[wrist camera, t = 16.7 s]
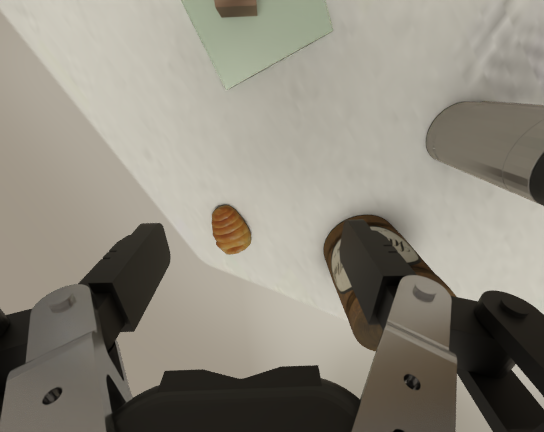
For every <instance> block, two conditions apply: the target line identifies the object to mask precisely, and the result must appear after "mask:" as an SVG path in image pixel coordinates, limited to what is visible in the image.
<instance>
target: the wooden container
mask: <svg viewBox="0 0 544 432" xmlns="http://www.w3.org/2000/svg"><path fill="white" fill-rule="evenodd" d="M358 219H363V220H365V222H366V223H367V224H368V226H369V227H370V228H371V230H376V231H378V232H379V233H381V234H383V235H384V236H386V237H387V238H388V240H389V241H390V242H391V243H392V246H394V247H395V248H396V250H397V251H398V253H400V254H401V256H402V257H403V258H404V259H405V261H406V262H407V263H408V264H409V266H410V267H411V268H412V269H413V270H414V272H415V273H416V274H417V275H418V276H422V277H426V278H429V279H431V280H433V281H435V282H437V283H438V284H440V285H441V286H442V287H444V288H445V289H446V290H447V292H448V293H449V294H450V296H453V297H456V296H455V294H454V293H453V292H452V291H451V289H450V288H449V287H448V286H447V285H446V284H445V283H444V282H443V281H442V280H441V279H440V278H439V277H438V276H437V275H436V274H435V273H434V272H433V271H432V270H431V269H430V268H429V266H428V265H427V264H426V263H425V262H424V261H423V260H422V258H421V257H420V256H419V255H418V254H417V252H416V251H415V250H414V249H413V248H412V247H411V245H410V244H409V243H408V242H407V241H406V240H405V239H404V238H403V236H402V235H401V234H400V233H398V231H397V230H396V229H395V228H394V227H393V226H392V225H391V224H390V223H389V222H388V221H386V220H385V219H383V218H381V217H378V216H374V215H361V216H355V217H352V218H349V219H347V220H358ZM344 222H345V221H343V222H341V223H340V224H339V225H337V226H336V227H335V228H334V229H333V230H332V231H331V232H330V234H329V235H328V237H327V239H326V241H325V244H324V256H325V260H326V262H327V265H328V268H329V271H330V274H331V277H332V280H333V283H334V285H335V288H336V290H337V293H338V295H339V298H340V300H341V303H342V305H343V308H344V310H345V313H346V315H347V317H348V320H349V323H350V326H351V329H352V331H353V334H354V336H355V338H356V339H357V341H358V342H359V343H360V344H361V345H362V346H364V347H366V348H367V349H370V350H373V351H376V350H377V347H378V344H379V341H380V338H381V335H382V332H383V329H382V327H381V325H368V322H367V320H366V318H365V315H364V313H363V311H362V309H361V306H360V304H359V302H358V300H357V297H356V295H355V293H354V290H353V288H352V286H351V284H350V281H349V279H348V277H347V275H346V272H345V270H344V268H343V265H342V263H341V260H340V253H339V250H340V243H341V237H342V231H343V225H344Z"/></svg>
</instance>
